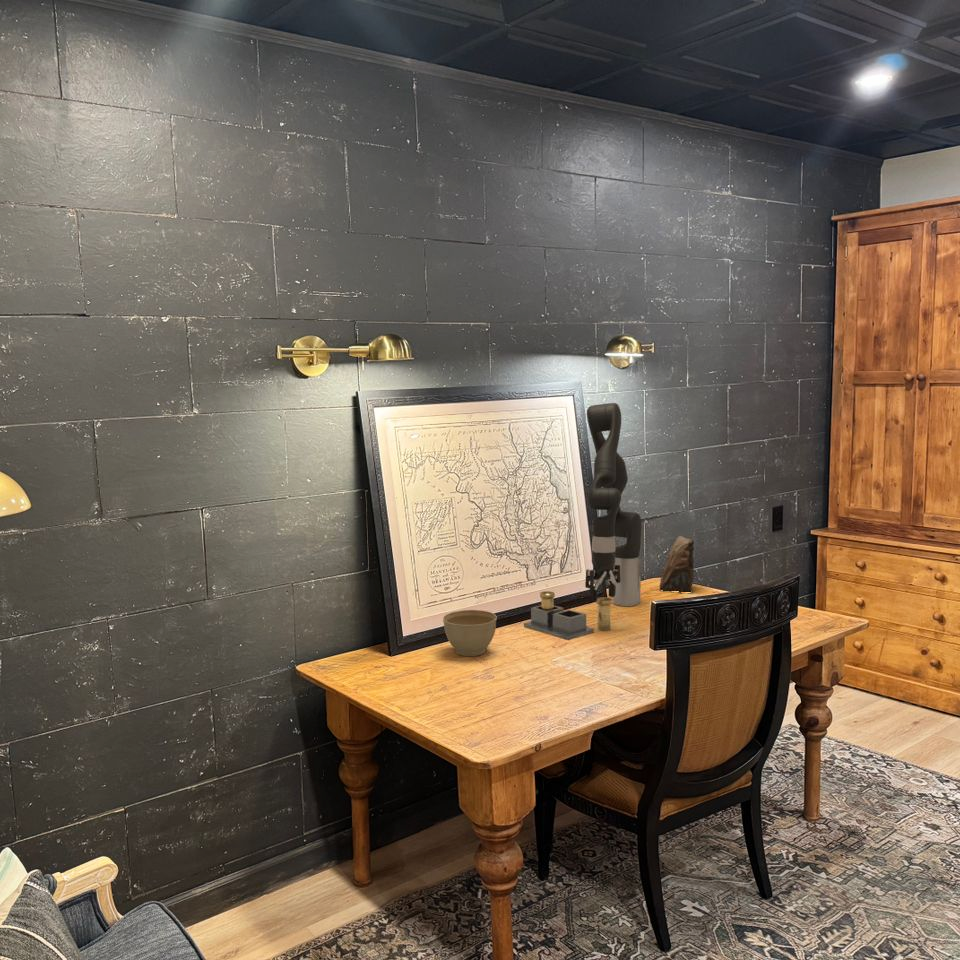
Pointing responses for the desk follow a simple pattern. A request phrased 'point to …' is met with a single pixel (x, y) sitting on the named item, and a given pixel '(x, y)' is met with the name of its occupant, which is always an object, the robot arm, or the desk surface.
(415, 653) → the desk surface
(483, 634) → the planter bowl
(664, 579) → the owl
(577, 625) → the grey double holder
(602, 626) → the brass stub
